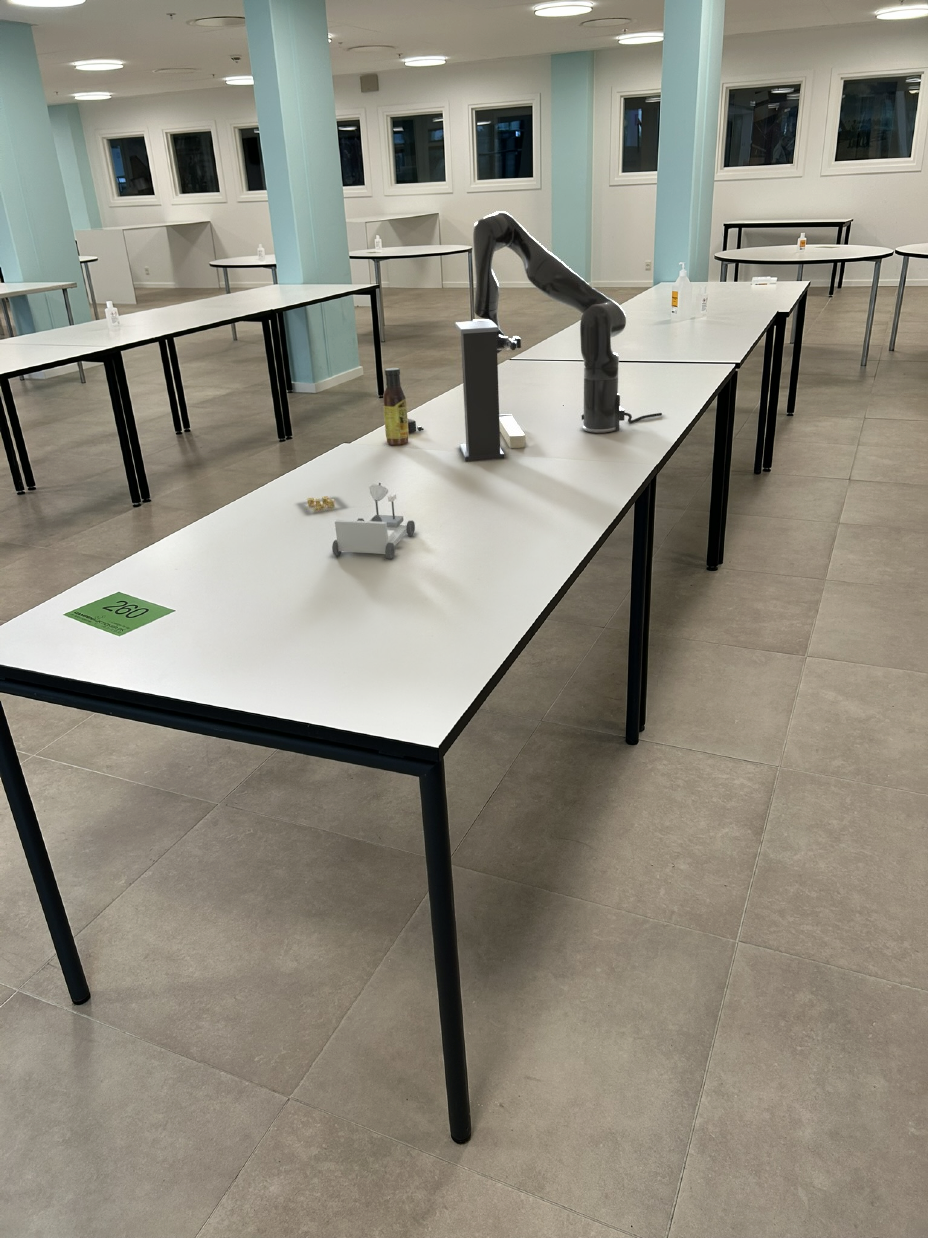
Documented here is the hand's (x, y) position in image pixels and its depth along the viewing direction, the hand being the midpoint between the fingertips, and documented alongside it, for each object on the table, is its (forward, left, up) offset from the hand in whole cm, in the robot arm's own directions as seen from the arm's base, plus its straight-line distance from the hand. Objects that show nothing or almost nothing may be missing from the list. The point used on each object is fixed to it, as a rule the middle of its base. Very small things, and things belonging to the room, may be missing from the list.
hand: (498, 347), depth 244 cm
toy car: (+37, +82, -23) cm, 92 cm away
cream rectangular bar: (-2, +8, -23) cm, 24 cm away
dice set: (+48, +56, -23) cm, 77 cm away
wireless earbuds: (+25, -6, -23) cm, 35 cm away
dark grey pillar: (+8, +23, -23) cm, 33 cm away
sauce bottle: (+29, +6, -23) cm, 38 cm away
